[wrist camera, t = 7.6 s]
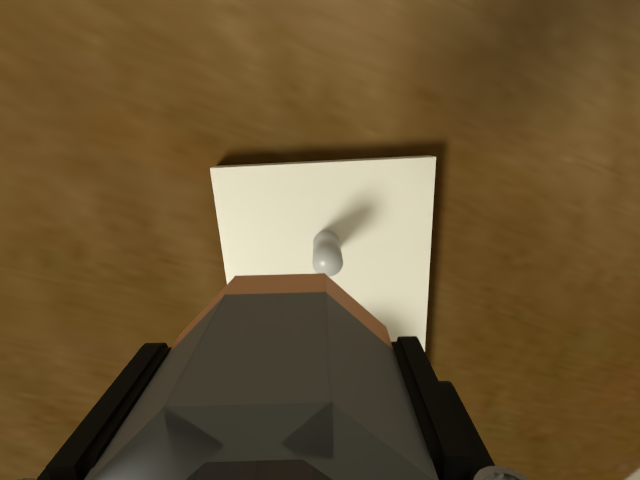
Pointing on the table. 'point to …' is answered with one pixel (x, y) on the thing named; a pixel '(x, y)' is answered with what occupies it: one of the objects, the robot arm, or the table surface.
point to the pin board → (336, 228)
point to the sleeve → (274, 394)
